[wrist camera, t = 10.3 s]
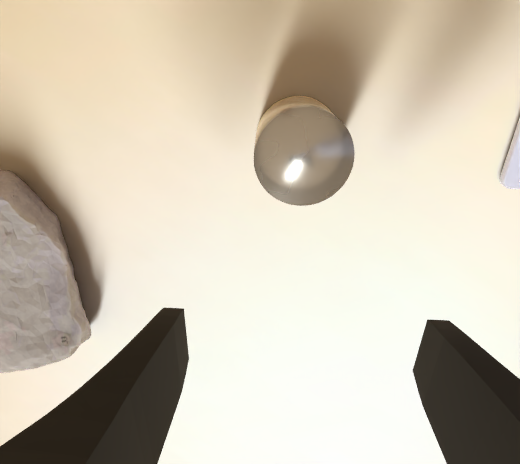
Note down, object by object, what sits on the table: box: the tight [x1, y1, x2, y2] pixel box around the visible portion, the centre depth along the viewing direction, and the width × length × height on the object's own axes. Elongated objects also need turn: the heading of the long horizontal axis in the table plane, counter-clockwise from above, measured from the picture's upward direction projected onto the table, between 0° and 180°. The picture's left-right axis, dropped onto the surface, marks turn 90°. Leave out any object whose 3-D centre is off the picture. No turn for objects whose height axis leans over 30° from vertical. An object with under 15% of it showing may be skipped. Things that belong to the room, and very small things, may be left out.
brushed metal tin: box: [254, 96, 354, 206], centre depth 16 cm, size 4×4×4 cm
